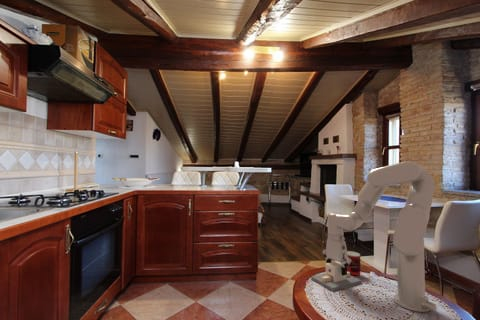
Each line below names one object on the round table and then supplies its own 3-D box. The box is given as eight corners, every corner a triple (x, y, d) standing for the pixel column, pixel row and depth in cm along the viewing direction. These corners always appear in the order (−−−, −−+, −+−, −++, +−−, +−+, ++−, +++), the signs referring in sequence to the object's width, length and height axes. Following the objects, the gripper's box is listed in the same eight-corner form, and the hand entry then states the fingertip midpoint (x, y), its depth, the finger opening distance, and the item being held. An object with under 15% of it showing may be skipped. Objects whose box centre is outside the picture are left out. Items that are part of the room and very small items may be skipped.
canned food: (348, 269, 136) (348, 250, 137) (363, 274, 130) (362, 253, 131) (342, 273, 131) (341, 252, 132) (356, 278, 125) (356, 256, 126)
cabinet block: (346, 279, 120) (346, 265, 121) (333, 282, 116) (333, 267, 117) (336, 274, 126) (336, 261, 126) (324, 277, 122) (324, 263, 122)
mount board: (361, 283, 119) (361, 276, 119) (332, 291, 110) (332, 284, 111) (338, 272, 132) (338, 266, 132) (311, 279, 123) (311, 272, 123)
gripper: (355, 240, 116) (356, 276, 115) (328, 232, 132) (328, 264, 131) (344, 242, 113) (345, 279, 112) (317, 234, 129) (318, 266, 127)
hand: (336, 271), depth 121 cm, fingers open, 9 cm apart
